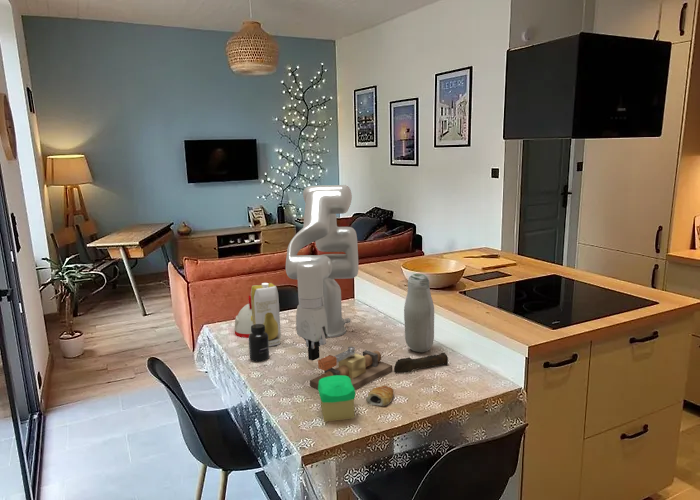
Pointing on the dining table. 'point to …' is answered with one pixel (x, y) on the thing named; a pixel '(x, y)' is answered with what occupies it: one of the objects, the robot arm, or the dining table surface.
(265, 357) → the supplement bottle
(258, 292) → the juice carton
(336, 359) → the valve lever
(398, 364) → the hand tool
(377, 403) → the pastry
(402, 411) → the dining table surface
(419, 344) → the grey bottle
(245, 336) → the white and red dome
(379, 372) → the pipe board
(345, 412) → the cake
